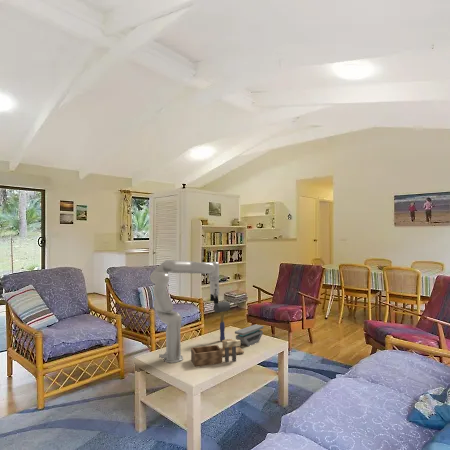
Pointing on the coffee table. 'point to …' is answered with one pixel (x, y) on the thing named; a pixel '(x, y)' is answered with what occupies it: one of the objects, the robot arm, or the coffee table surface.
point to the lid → (238, 349)
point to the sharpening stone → (249, 334)
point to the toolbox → (210, 355)
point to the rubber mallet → (222, 316)
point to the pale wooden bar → (231, 343)
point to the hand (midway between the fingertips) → (214, 302)
